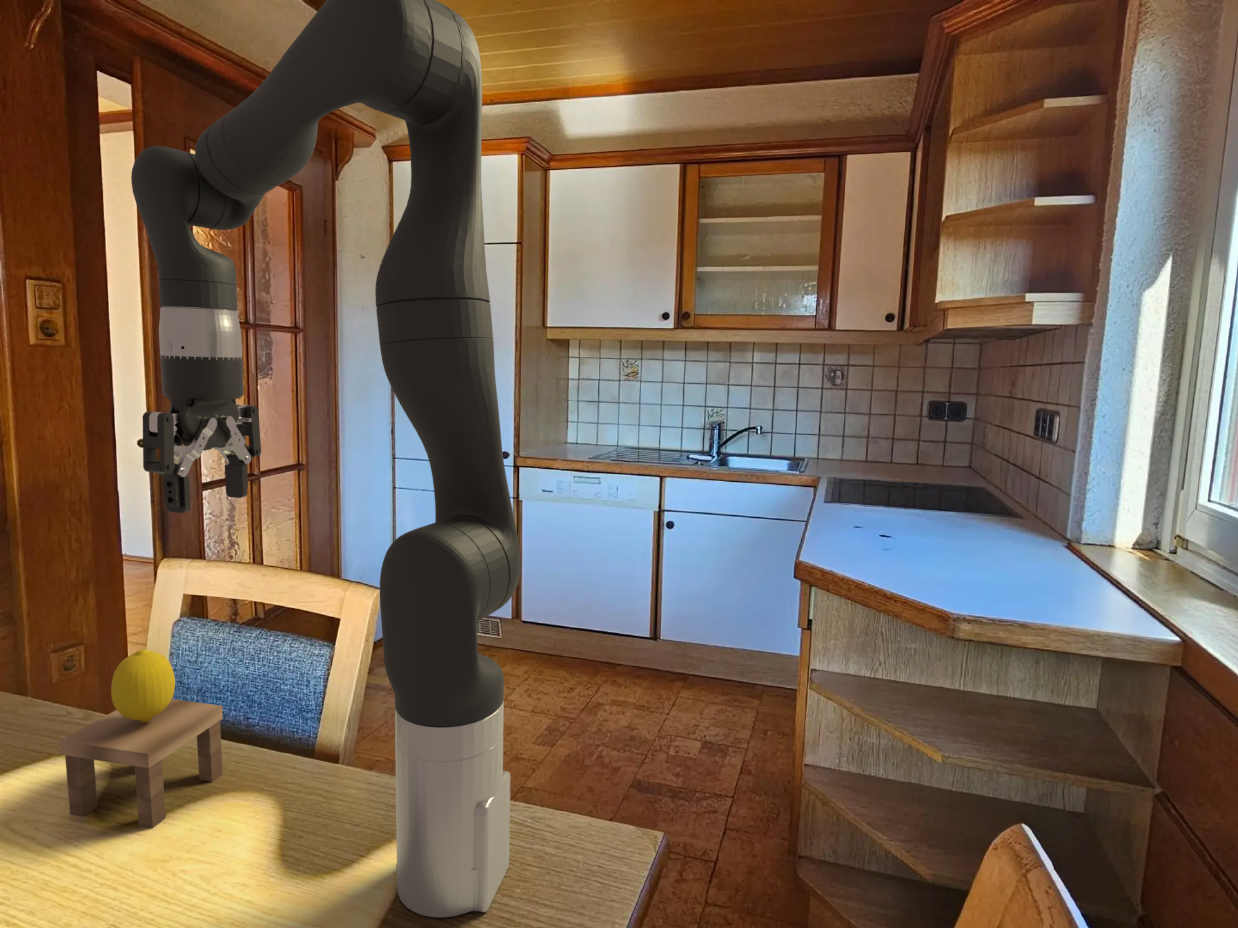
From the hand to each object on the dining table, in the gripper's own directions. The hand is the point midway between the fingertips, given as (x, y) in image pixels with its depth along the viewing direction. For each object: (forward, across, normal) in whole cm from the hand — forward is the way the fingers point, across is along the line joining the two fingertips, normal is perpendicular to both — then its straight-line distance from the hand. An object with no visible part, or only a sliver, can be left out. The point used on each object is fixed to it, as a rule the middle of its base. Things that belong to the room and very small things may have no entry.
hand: (209, 504), depth 79 cm
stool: (+30, -7, +3) cm, 31 cm away
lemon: (+22, -7, +3) cm, 24 cm away
